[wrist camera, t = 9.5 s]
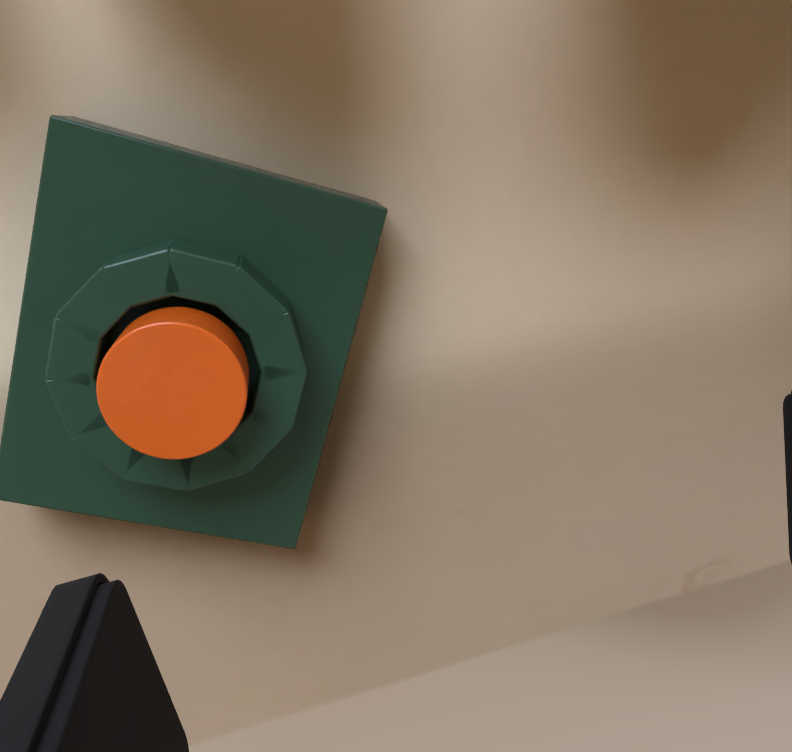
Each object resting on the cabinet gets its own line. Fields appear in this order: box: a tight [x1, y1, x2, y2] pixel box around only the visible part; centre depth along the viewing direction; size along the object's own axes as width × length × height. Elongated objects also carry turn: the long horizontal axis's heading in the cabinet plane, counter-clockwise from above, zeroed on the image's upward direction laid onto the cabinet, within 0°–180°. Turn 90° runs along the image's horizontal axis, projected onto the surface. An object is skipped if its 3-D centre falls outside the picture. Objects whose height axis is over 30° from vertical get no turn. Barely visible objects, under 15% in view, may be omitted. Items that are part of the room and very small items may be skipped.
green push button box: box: [0, 115, 387, 549], centre depth 22 cm, size 11×9×4 cm
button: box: [96, 306, 249, 459], centre depth 19 cm, size 4×4×2 cm
